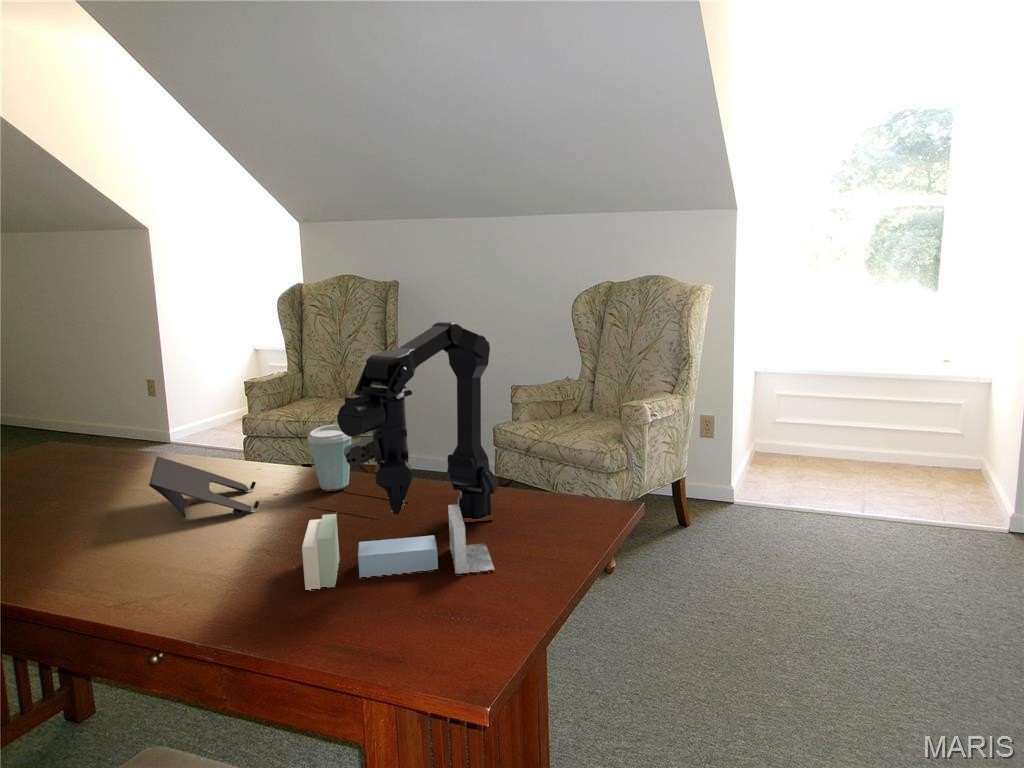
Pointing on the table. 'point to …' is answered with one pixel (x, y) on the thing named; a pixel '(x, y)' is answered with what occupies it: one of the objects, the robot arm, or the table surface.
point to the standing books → (321, 553)
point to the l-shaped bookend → (465, 546)
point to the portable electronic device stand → (194, 486)
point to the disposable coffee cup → (330, 456)
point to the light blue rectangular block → (397, 556)
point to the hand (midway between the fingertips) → (395, 505)
